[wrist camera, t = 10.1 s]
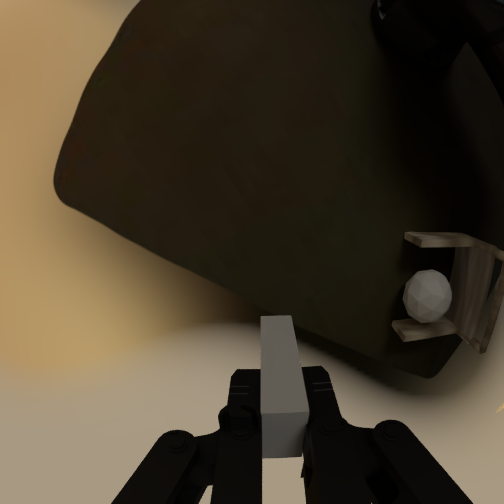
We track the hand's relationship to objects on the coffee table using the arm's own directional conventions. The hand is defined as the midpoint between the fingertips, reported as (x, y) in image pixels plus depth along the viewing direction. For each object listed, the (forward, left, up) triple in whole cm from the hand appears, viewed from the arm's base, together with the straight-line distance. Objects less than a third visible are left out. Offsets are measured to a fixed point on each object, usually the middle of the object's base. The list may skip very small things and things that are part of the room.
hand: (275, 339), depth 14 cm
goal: (-15, +22, -24) cm, 36 cm away
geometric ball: (-13, +21, -25) cm, 35 cm away
